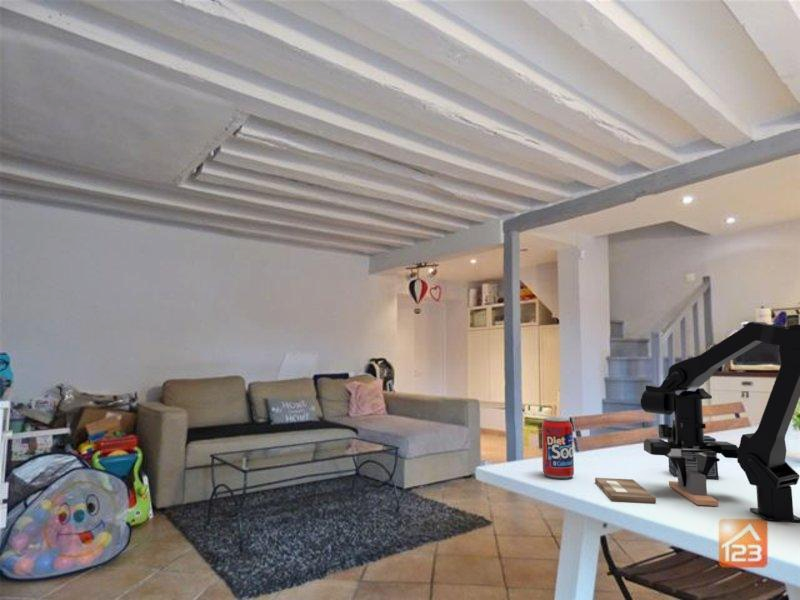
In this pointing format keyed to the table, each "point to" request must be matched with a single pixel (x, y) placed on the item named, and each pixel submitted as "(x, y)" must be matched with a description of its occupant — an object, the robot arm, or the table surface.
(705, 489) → the stub
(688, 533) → the table surface
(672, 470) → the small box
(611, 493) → the brown flat board
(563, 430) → the soda can
